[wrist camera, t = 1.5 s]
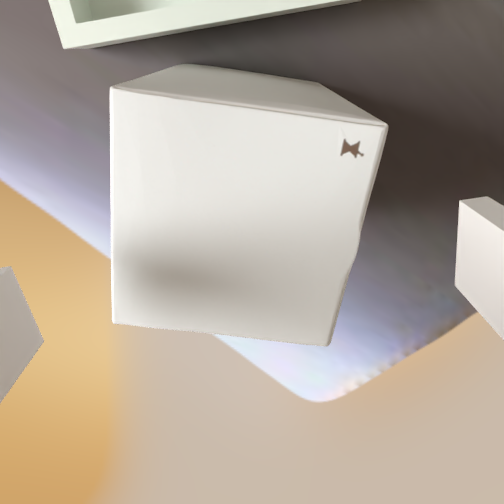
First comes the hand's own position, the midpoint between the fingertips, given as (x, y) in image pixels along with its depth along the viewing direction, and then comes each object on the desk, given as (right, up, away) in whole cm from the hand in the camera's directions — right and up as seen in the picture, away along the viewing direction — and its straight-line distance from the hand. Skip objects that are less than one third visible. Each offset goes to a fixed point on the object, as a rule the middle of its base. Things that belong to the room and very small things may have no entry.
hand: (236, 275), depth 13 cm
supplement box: (0, +8, +16) cm, 17 cm away
